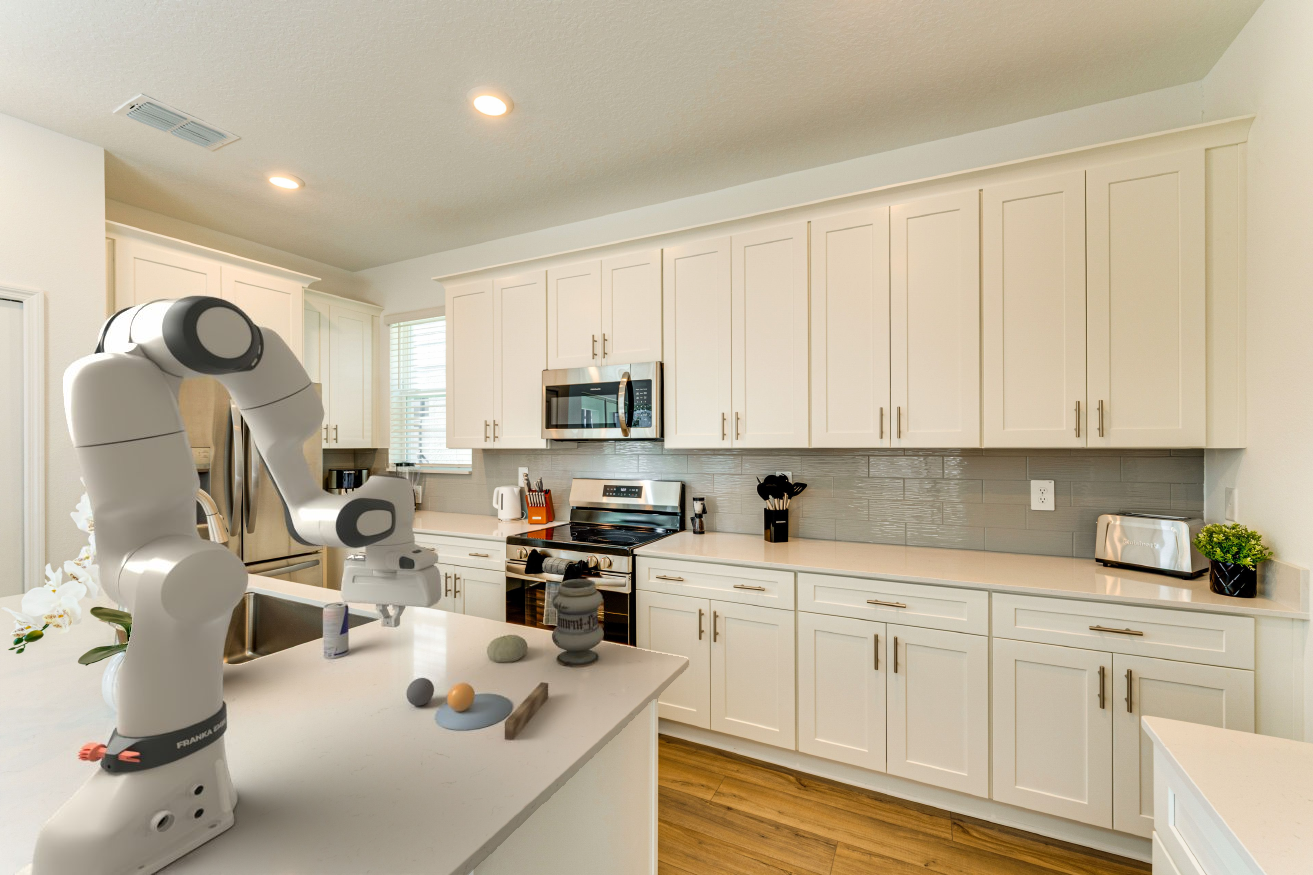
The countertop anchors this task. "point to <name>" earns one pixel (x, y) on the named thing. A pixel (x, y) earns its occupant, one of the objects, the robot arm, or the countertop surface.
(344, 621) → the energy drink
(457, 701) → the object ball
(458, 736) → the countertop surface
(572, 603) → the apothecary jar
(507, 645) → the sea urchin shell
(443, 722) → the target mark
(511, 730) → the wall
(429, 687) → the gray ball
